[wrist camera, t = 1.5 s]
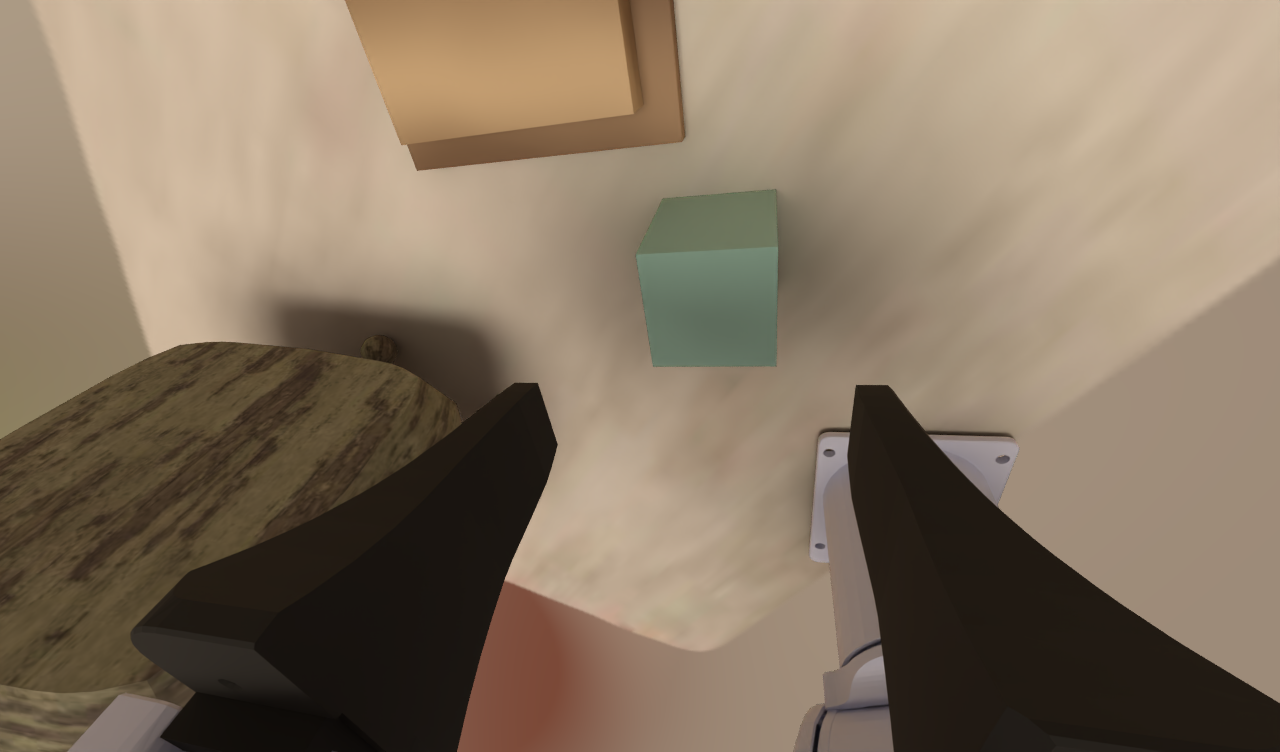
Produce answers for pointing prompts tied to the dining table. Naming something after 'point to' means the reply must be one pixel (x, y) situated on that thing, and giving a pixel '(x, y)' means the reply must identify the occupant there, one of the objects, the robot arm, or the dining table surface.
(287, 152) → the dining table surface
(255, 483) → the tabletop clock
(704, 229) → the block
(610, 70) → the top slab
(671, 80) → the bottom slab
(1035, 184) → the dining table surface
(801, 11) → the dining table surface
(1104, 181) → the dining table surface
